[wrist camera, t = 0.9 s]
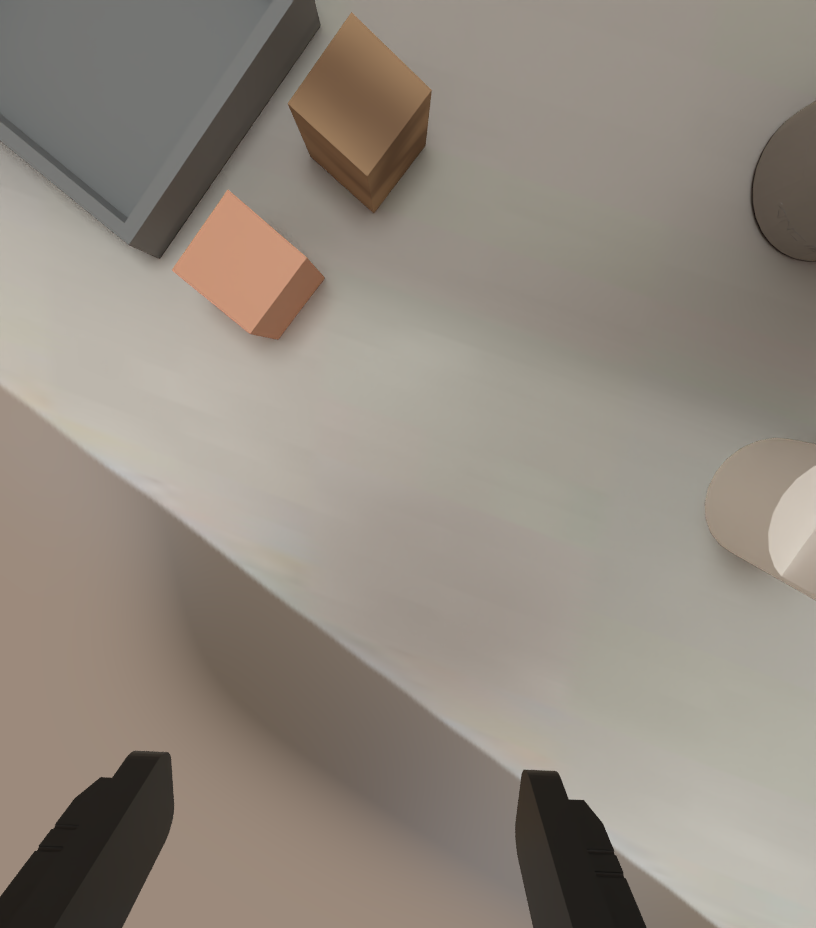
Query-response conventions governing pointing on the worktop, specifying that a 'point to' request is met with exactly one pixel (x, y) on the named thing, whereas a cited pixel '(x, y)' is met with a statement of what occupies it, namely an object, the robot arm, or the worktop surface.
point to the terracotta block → (248, 269)
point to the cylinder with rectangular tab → (768, 509)
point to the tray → (141, 97)
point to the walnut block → (362, 113)
